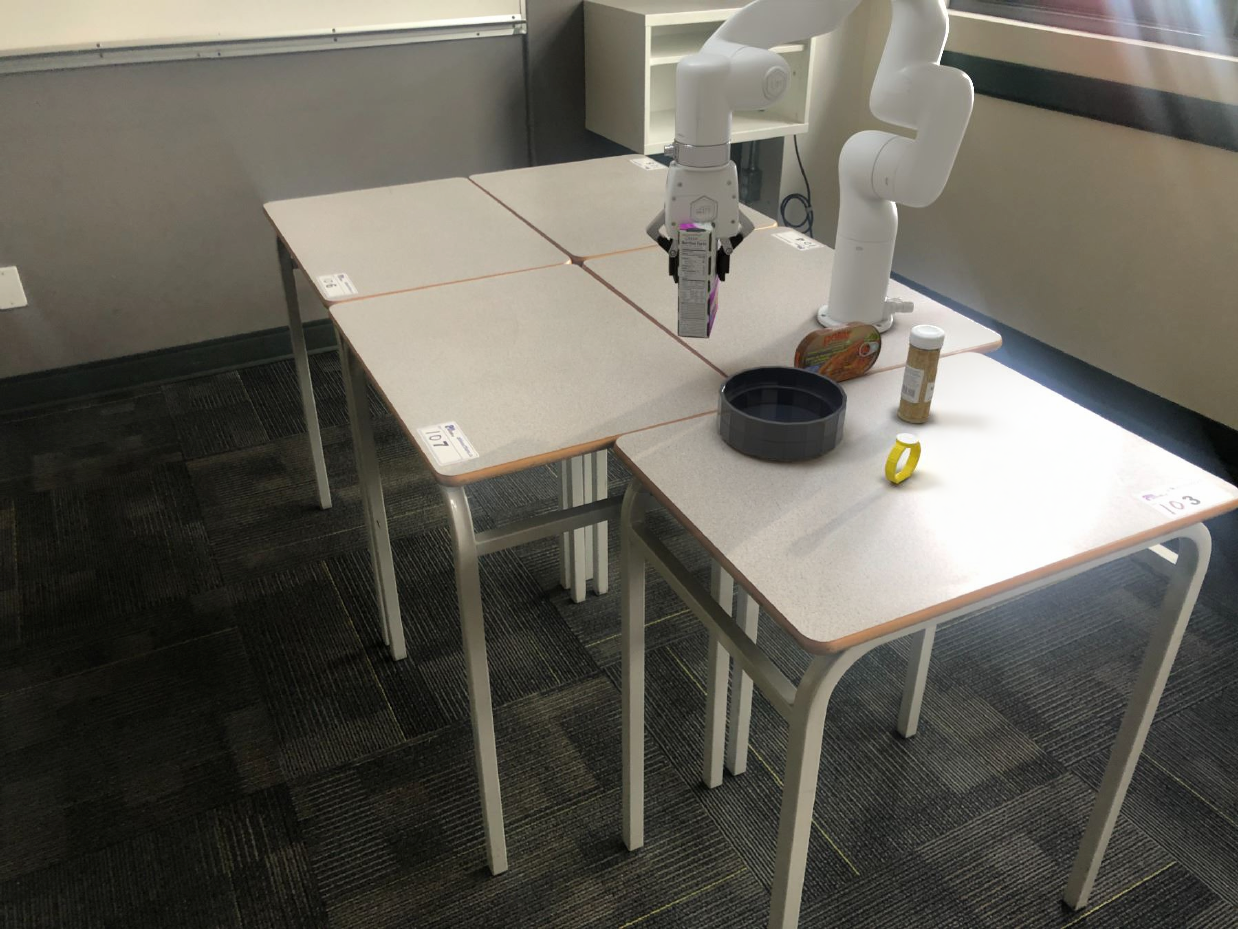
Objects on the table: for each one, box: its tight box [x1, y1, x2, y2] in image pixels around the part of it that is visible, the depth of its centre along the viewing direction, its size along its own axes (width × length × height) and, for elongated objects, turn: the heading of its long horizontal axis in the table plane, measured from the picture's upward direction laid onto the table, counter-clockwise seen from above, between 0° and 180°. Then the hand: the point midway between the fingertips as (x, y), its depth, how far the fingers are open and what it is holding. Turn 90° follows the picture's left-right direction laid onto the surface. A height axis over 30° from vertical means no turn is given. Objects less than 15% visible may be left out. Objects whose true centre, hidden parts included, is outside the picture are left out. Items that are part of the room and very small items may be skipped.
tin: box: [793, 321, 883, 383], centre depth 150 cm, size 15×3×8 cm, turn 117°
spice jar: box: [896, 324, 946, 424], centre depth 138 cm, size 5×5×13 cm
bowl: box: [716, 365, 848, 462], centre depth 136 cm, size 17×17×6 cm
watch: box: [884, 432, 922, 484], centre depth 126 cm, size 6×3×6 cm, turn 133°
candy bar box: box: [677, 222, 721, 339], centre depth 143 cm, size 11×5×16 cm, turn 169°
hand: (698, 277), depth 144 cm, fingers closed on candy bar box, 5 cm apart
